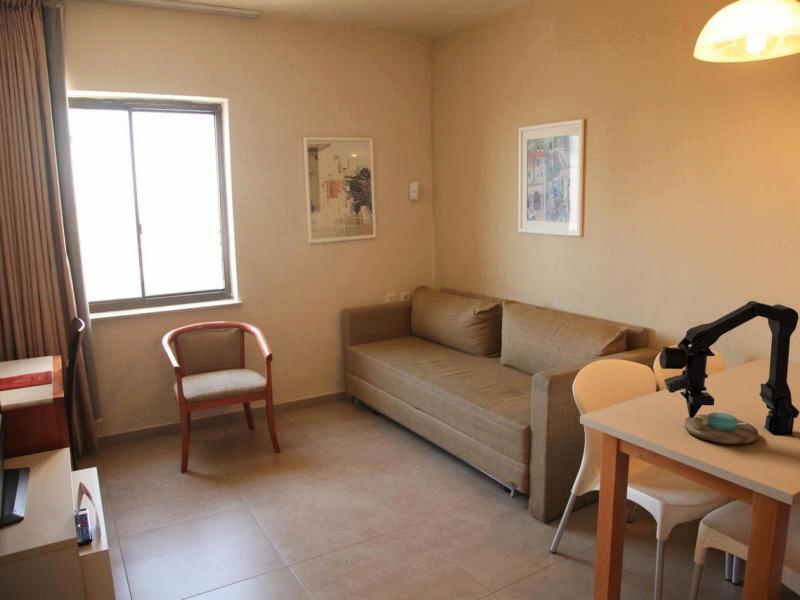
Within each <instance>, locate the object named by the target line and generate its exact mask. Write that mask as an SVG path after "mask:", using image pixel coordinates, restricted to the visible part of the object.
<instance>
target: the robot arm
mask: <svg viewBox="0 0 800 600" xmlns="http://www.w3.org/2000/svg"><path fill="white" fill-rule="evenodd" d="M757 317H761V318H764V319H767V324H768V327H769V330H770V332H771V343H770V344H771V345H770V360H769V373H768V379H767V381H766V383H760V392H759V397H761V401H762V402H763V403H764V404H765V405H766V409H768V413H767V415H766V416H765V425H764V429H765V430H766V431H767V432H768V433H770V434H771V435H772V434H773V435H772V436H783V435H793V434H794V435H795V436H796V434H795V433H794V432H793V431H794V423H795V419H797V418H799V417H798V416H799V414H800V411H799V410H798V409H797V407H796V406H795V405H794V404H793V401H792V400H793V398H792V392H791V389H790V386H789V383H788V375H789V374H788V373H789V361H790V360H789V359H790V348H791V347H790V346H791V336H792V335H793V334H794V332H795V331H796V328H797V325H798V322H799V318H800V317H799V313H798V312H797V310H795V309H794V308H792V307H789V306H786V305H782V304H777V303H776V304H773V305H770V304H767V303H761V302H758V301H756V300H751V301H748V302H747V303H746V304H744V305H742V306H740V307H738V308H737V309H735V310H733V311H730V312H729V313H727V314H725V315H723V316H722V317H719V318H718V319H716V320H714V321H712V322H708V323H703V324H699V325H696V326H694V327H691V328H689V329H687V330H686V332H685V336H684V337H683V338H682V339H681V341H680V342H679V343H678V344H677V346H676V347H675V346H662V350H661V351H660V354H659V355H658V356H659V358H658V359H659V360H658V361H659V367H660V368H661V369H662V370H682V371H681V374H679V375H675V376H672V377H671V376H669V377H668V378H664V379H663V381H664V384H665V387H666V390H667V391H668V393H671V394H674V393H676V392H678V391H679V392H680V391H681V392H680V393H679V394H680V395H681V396H682V397H683V398H684V399H685V401H686V402H685V403H686V407H687V408H686V409H687V412H688V417H690V418H694V416H695V415H697V413H698V412H699V410H700V409H701V407H702V406H715V398H714V397H713V396H712V395H711V394H710V393H709V392H707V387H706V386H705V385H706V383H705V382H706V379H708V376H709V374H707V373H706V372H707V363H708V357H715V356H716V354H715V353H714V352H713V351H712V349H711V348H710V347H711V346H713V345H714V344H715V343H716V342H717V341H718V340H719V338H720V337H722V336H723V335H725V334H727V333H728V332H730V331H732V330H734V329H736V328H738V327H739V326H741V325H744V324H745V323H747V322H750V321H751V320H753V319H755V318H757ZM684 368H685V369H684Z"/></svg>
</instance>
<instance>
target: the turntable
mask: <svg viewBox="0 0 800 600" xmlns="http://www.w3.org/2000/svg"><path fill="white" fill-rule="evenodd" d="M707 420H708V414H696V415H695V416H694V418H690V417H689V416H688V417H686V418H685V419H684V428H685V430H686V431H687V432H688V433H690V434H692V435H693V436H696V437H698V438H701V439H703V440H707V441H711V442H715V443H720V444H726V445H727V444H728V445H746V444H751V443H754V442H756V441H757V440H758V437H759V436H758V435H759V431H758V429H757V428H756V427H755V426H753V425H752V424H750V423H748V422H745V421H743V420H740V419H738V418H737V428H736V430H735V431H732V432H725V431H718V430H715V429H712V428H710V427H708V426H707Z"/></svg>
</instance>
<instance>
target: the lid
mask: <svg viewBox="0 0 800 600" xmlns="http://www.w3.org/2000/svg"><path fill="white" fill-rule="evenodd" d="M707 415H708V420H707V426H708V427H710V428H712V429H715V430H718V431H725V432H732V431H735V430H736V428H737V419H738V418H737V417H736V416H734V415H732V414H728V413H724V412H710V413H708V414H707Z"/></svg>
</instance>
